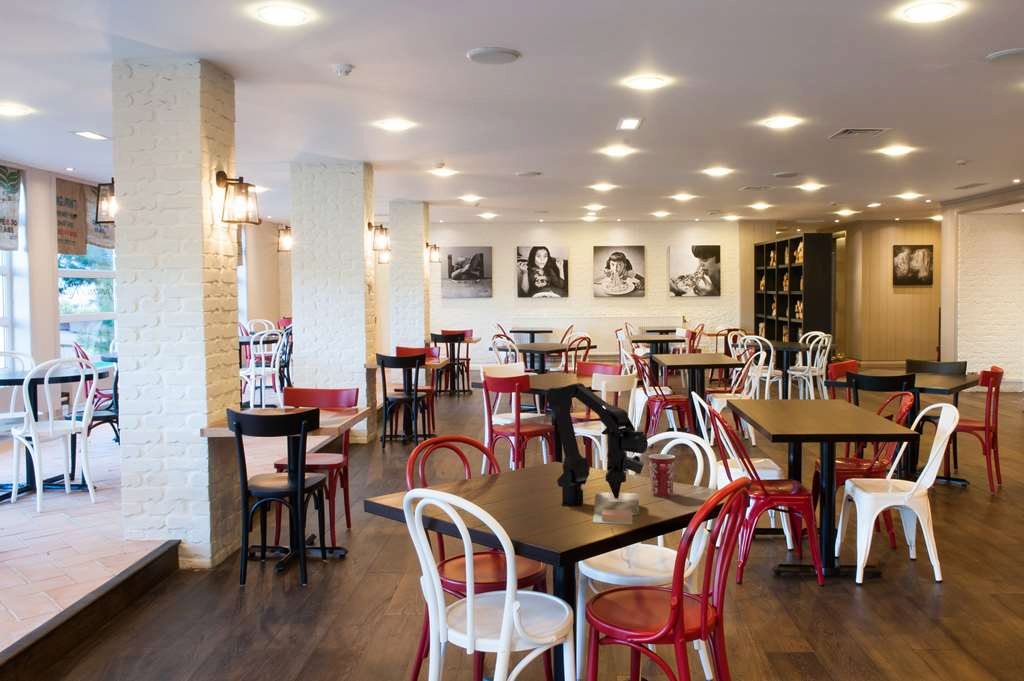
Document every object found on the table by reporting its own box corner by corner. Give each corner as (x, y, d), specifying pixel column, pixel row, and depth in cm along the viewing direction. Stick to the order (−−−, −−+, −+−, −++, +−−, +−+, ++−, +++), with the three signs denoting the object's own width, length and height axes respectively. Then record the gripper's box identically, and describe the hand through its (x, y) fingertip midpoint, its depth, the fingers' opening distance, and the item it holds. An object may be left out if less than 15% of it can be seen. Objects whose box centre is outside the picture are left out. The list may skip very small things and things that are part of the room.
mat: (592, 523, 256) (592, 522, 256) (594, 513, 267) (594, 512, 267) (632, 524, 255) (632, 523, 255) (632, 514, 265) (632, 513, 265)
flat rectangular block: (602, 509, 263) (602, 515, 264) (601, 514, 257) (601, 520, 258) (631, 510, 262) (631, 516, 262) (631, 515, 256) (631, 521, 256)
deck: (594, 513, 267) (594, 501, 267) (596, 504, 279) (596, 492, 279) (638, 514, 265) (638, 502, 265) (638, 505, 277) (638, 493, 277)
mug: (648, 491, 297) (648, 453, 296) (674, 491, 295) (674, 453, 294) (648, 500, 284) (648, 460, 283) (676, 500, 283) (676, 461, 282)
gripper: (642, 455, 255) (642, 506, 256) (641, 444, 274) (642, 492, 274) (605, 455, 257) (605, 505, 258) (607, 444, 275) (607, 491, 276)
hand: (616, 498), depth 266 cm, fingers closed
